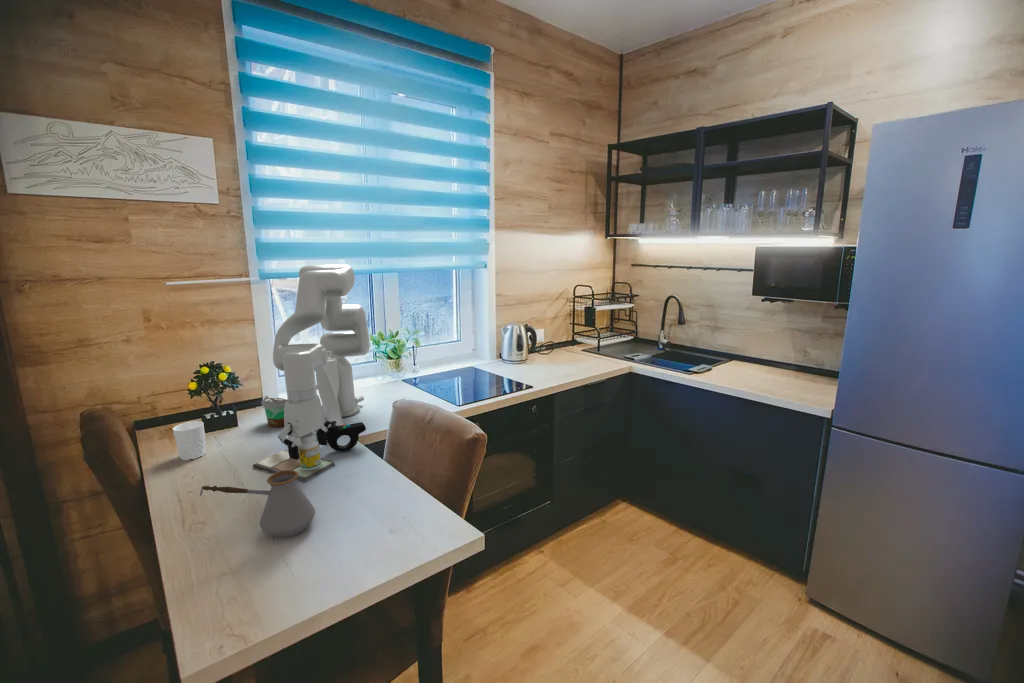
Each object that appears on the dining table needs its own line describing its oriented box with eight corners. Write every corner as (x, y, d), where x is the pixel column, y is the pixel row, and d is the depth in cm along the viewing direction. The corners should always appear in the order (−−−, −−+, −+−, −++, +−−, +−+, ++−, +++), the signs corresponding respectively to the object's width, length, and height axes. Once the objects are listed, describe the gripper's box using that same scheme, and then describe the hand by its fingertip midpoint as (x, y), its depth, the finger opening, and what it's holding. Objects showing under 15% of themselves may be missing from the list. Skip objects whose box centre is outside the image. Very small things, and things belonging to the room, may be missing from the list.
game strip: (285, 452, 148) (285, 449, 147) (334, 465, 138) (334, 461, 138) (253, 467, 138) (252, 463, 138) (303, 482, 129) (303, 478, 129)
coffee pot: (312, 508, 116) (305, 452, 113) (320, 532, 106) (313, 471, 103) (209, 537, 105) (199, 475, 102) (208, 567, 95) (197, 499, 92)
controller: (325, 451, 148) (322, 421, 146) (366, 443, 153) (363, 414, 151) (327, 456, 144) (324, 426, 142) (368, 448, 150) (366, 418, 148)
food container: (256, 427, 169) (252, 400, 167) (269, 420, 175) (266, 395, 173) (284, 430, 166) (281, 403, 164) (297, 423, 171) (293, 397, 169)
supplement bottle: (322, 467, 134) (319, 436, 132) (302, 472, 132) (298, 440, 130) (319, 460, 139) (315, 430, 137) (299, 465, 136) (295, 434, 134)
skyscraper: (325, 426, 170) (317, 350, 164) (347, 426, 169) (340, 350, 163) (315, 435, 161) (306, 356, 155) (338, 435, 161) (330, 356, 155)
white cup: (214, 450, 150) (209, 421, 148) (195, 462, 143) (190, 431, 140) (191, 450, 151) (186, 420, 149) (171, 461, 143) (166, 430, 141)
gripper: (317, 384, 140) (323, 437, 143) (264, 402, 125) (273, 461, 128) (336, 387, 136) (341, 442, 140) (284, 406, 121) (292, 467, 125)
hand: (308, 451), depth 134 cm, fingers open, 9 cm apart
